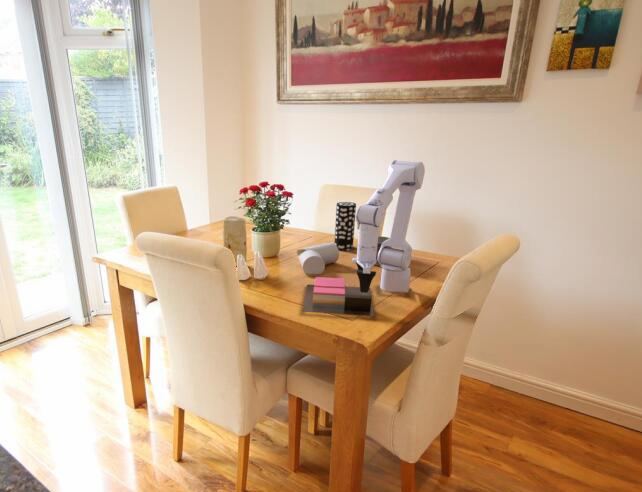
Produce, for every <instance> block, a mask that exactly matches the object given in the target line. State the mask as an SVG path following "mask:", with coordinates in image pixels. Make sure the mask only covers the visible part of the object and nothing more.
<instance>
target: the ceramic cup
mask: <svg viewBox="0 0 642 492" xmlns="http://www.w3.org/2000/svg"><path fill="white" fill-rule="evenodd" d="M388 239H390V237H388V236H381V235H378V244H377V254H376V260H377V261H376V264H375V265H374V266H378V267H380V266H381V264H379V262H378V253H379V250H380V248H381V245H382V243H383V242H384V241H386V240H388ZM389 248H393V247H389Z"/></svg>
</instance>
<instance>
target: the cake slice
mask: <svg viewBox="0 0 642 492" xmlns="http://www.w3.org/2000/svg"><path fill="white" fill-rule="evenodd" d="M313 298H320V299H338V300H345V289H341V288H322V287H314V292H313Z"/></svg>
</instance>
